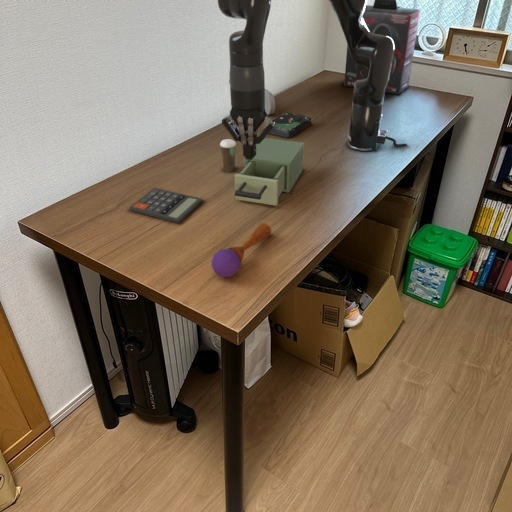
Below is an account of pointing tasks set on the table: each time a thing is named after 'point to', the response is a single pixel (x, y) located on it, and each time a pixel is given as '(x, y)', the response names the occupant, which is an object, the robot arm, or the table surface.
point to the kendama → (237, 253)
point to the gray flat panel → (269, 102)
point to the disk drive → (290, 124)
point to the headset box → (403, 35)
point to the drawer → (261, 182)
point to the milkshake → (228, 154)
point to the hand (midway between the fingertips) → (249, 158)
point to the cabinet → (281, 157)
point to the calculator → (166, 205)
